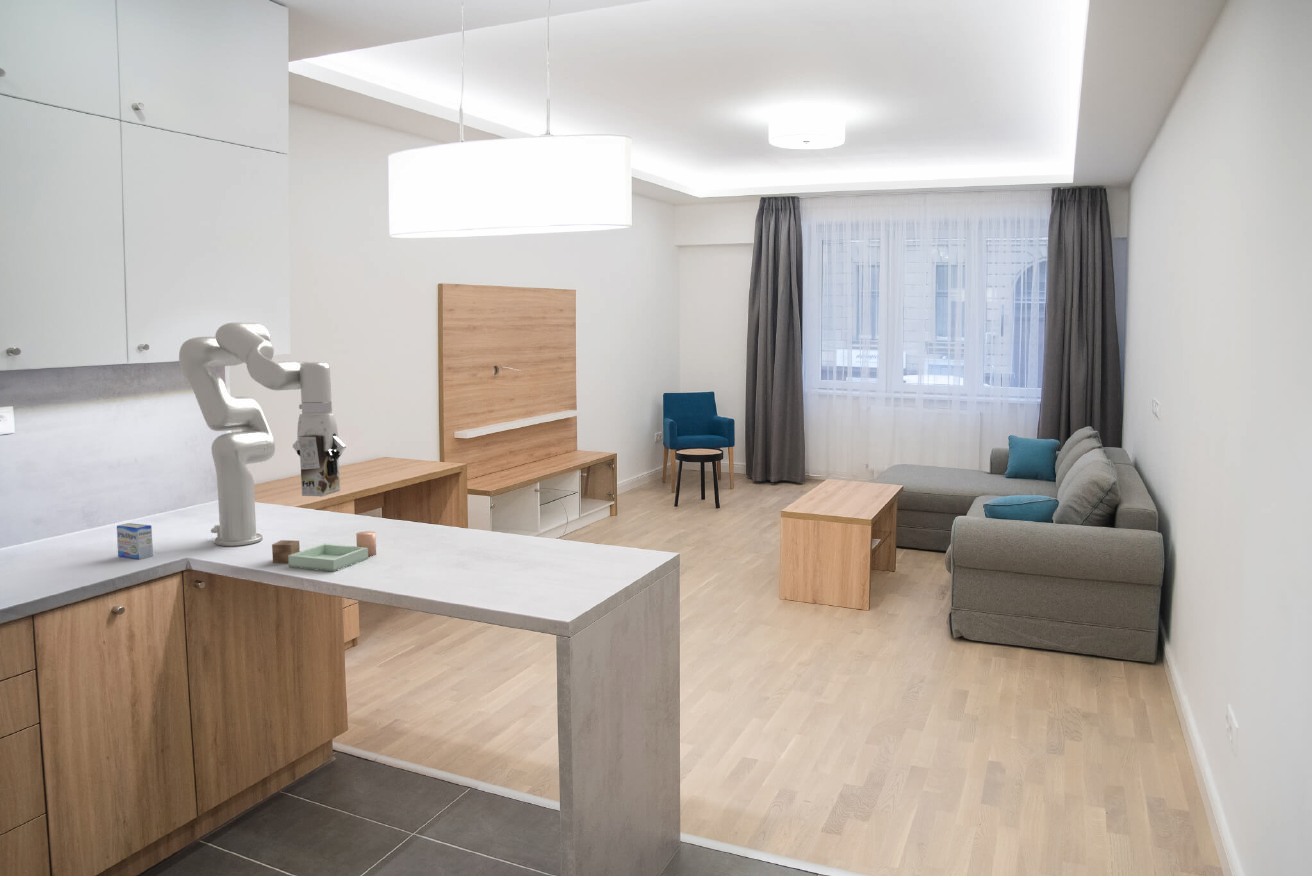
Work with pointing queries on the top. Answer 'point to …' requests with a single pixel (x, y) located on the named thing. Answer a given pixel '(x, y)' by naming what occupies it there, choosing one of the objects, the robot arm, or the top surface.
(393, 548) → the top surface
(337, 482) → the coffee box
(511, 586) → the top surface
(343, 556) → the tray
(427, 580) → the top surface
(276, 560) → the walnut block
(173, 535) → the top surface
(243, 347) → the robot arm
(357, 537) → the light brown rounded block
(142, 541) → the medicine box
